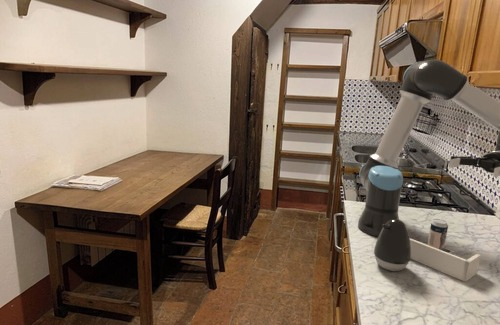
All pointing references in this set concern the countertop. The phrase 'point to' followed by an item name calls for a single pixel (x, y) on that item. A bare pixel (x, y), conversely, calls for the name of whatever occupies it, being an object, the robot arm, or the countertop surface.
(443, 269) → the walled box
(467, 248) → the countertop surface
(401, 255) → the black glossy domed part
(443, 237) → the beer can
